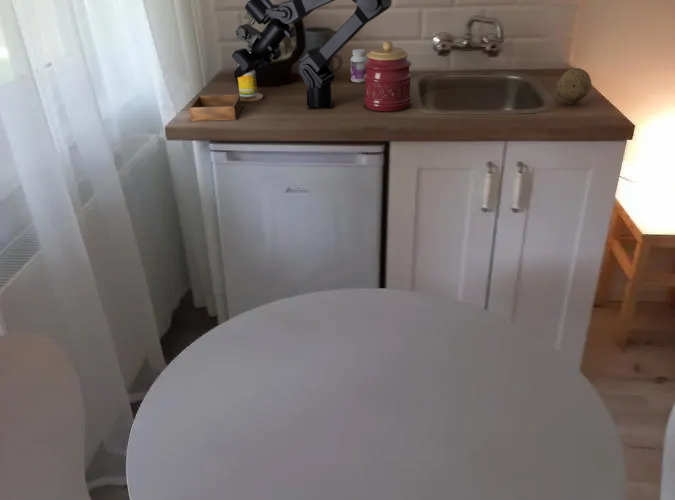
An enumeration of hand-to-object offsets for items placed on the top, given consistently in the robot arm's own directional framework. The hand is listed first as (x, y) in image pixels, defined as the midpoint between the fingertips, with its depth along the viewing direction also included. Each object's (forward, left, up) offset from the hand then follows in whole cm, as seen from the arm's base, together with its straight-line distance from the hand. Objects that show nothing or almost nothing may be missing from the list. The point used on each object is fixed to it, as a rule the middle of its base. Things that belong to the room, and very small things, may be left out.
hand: (242, 74), depth 185 cm
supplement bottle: (-1, +1, -6) cm, 7 cm away
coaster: (-1, 0, -7) cm, 7 cm away
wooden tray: (+6, +15, -7) cm, 18 cm away
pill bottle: (-35, -17, -7) cm, 39 cm away
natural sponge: (-93, +17, -7) cm, 95 cm away
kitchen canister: (-42, +12, -7) cm, 44 cm away
